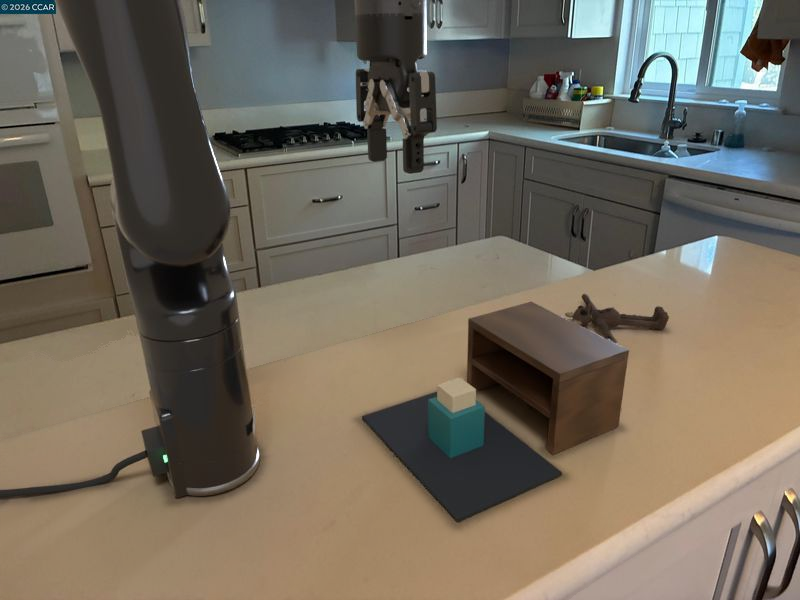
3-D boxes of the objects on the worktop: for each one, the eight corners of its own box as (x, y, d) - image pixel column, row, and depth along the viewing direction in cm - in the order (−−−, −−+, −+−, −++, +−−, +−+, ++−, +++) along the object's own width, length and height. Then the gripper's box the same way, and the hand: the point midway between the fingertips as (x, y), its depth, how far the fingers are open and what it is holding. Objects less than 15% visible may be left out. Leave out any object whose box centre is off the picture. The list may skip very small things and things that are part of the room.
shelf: (552, 455, 66) (560, 374, 62) (466, 389, 79) (468, 318, 75) (618, 427, 71) (629, 349, 67) (526, 368, 83) (531, 301, 80)
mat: (457, 522, 57) (457, 519, 57) (361, 418, 73) (361, 415, 73) (562, 475, 63) (562, 472, 63) (452, 388, 79) (452, 386, 79)
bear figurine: (689, 334, 85) (584, 325, 85) (681, 361, 87) (578, 353, 87) (646, 286, 102) (559, 279, 102) (640, 310, 103) (554, 302, 103)
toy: (450, 458, 65) (450, 402, 63) (428, 437, 69) (428, 383, 66) (483, 445, 67) (485, 390, 65) (460, 425, 71) (461, 372, 68)
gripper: (330, 14, 69) (339, 161, 75) (391, 7, 57) (396, 181, 63) (389, 14, 72) (393, 154, 78) (458, 7, 60) (456, 172, 67)
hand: (394, 166), depth 71 cm, fingers open, 8 cm apart
